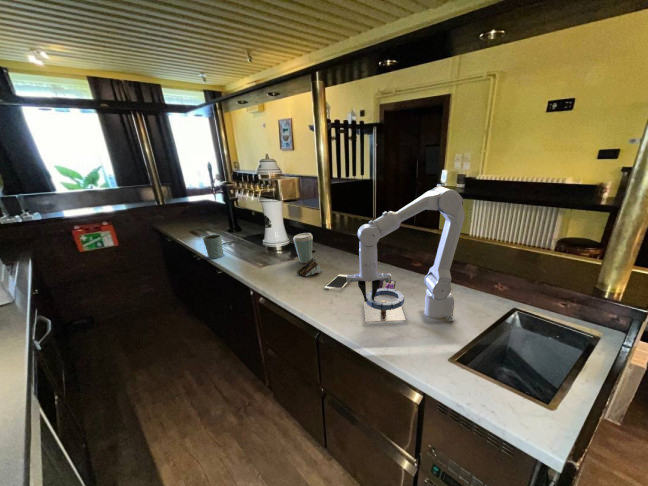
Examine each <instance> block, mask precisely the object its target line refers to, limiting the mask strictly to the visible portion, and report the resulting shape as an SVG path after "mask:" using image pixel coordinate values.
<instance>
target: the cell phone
mask: <svg viewBox="0 0 648 486" xmlns="http://www.w3.org/2000/svg"><path fill="white" fill-rule="evenodd" d="M347 275H348V274H340V273H339V274H338V275H337V276H335V277H334V278H333V279H332V280H330V282H329V283H327V284H326V285H325V286H324V289H325V290H330V289H342V288H343V289H344V288H345V287H346V286H347V285H348V283H347Z"/></svg>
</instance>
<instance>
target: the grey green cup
mask: <svg viewBox="0 0 648 486" xmlns="http://www.w3.org/2000/svg"><path fill="white" fill-rule="evenodd" d="M202 240H203V244H204V246H205V250H206V253H207V257H208V258H209V259H218V258H222V257H223V256H224V249H223V240H222V235H221V234H208V235H205V236H203V237H202Z"/></svg>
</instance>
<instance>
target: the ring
mask: <svg viewBox="0 0 648 486" xmlns="http://www.w3.org/2000/svg"><path fill="white" fill-rule="evenodd" d="M371 295H372V290H371V291H369V292H367V293H366V300H367V302H366V303H367V305H369V306H370V307H373V308H374V309H379V310H381V309H382V310H391V309H396V308H399V307H402V306H403V305H404V304H405V295H404V293H403V292H401V291H399V290H397V289H387V288H385V287H382V289H377V292H376V294H375V298H376V297H379V296H389V297H390V296H391V297H394V298H396V300H394V301H388V302H389V303H381V301H377V300H375V299H374V300H373V299H372V296H371Z"/></svg>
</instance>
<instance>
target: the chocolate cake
mask: <svg viewBox="0 0 648 486" xmlns="http://www.w3.org/2000/svg"><path fill="white" fill-rule="evenodd" d="M295 272H296V274H297V275H301V276H303V277H304V278H305V277H309V276H314V275H315V274H320V273H321V272H322V269H321V266H320V264H318V262H317V260H316V258H315V256H312V259H310V260H309V261H308V262H307V263H303V264H302V265H301V266H300V267H299V268H297V270H296V271H295Z"/></svg>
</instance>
